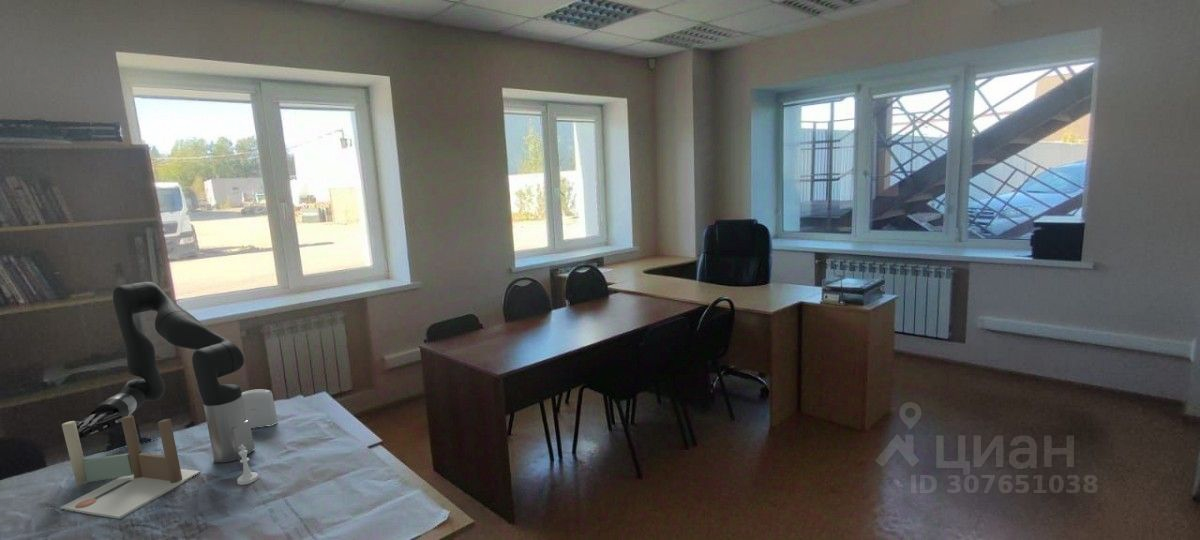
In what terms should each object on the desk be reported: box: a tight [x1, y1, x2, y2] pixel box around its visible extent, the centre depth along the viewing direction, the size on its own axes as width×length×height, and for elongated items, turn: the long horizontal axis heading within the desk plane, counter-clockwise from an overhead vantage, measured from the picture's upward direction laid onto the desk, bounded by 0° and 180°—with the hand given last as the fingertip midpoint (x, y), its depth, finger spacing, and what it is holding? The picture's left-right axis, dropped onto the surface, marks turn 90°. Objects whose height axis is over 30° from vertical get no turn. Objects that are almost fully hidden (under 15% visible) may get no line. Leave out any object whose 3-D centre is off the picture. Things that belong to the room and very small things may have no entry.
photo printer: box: [241, 388, 278, 429], centre depth 180 cm, size 10×4×12 cm, turn 100°
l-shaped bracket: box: [61, 420, 133, 486], centre depth 149 cm, size 13×3×17 cm, turn 105°
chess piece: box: [236, 445, 260, 486], centre depth 148 cm, size 5×5×10 cm
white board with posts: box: [60, 414, 201, 520], centre depth 144 cm, size 20×20×18 cm
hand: (77, 436), depth 149 cm, fingers closed
